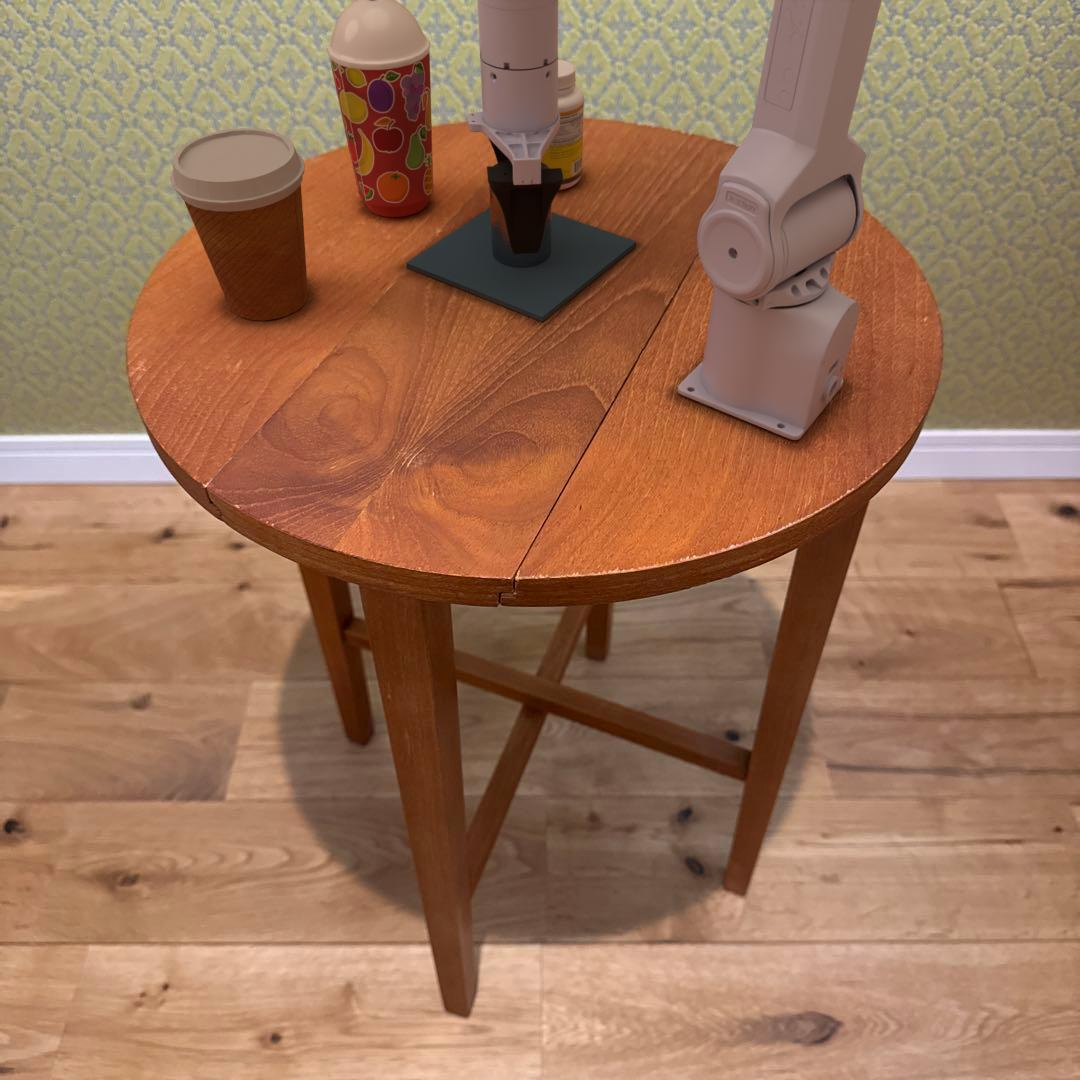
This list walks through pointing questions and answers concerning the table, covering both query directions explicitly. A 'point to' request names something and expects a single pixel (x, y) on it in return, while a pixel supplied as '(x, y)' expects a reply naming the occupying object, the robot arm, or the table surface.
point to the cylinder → (501, 239)
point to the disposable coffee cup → (248, 216)
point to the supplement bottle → (567, 128)
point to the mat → (523, 289)
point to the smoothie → (385, 104)
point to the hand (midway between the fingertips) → (522, 227)
